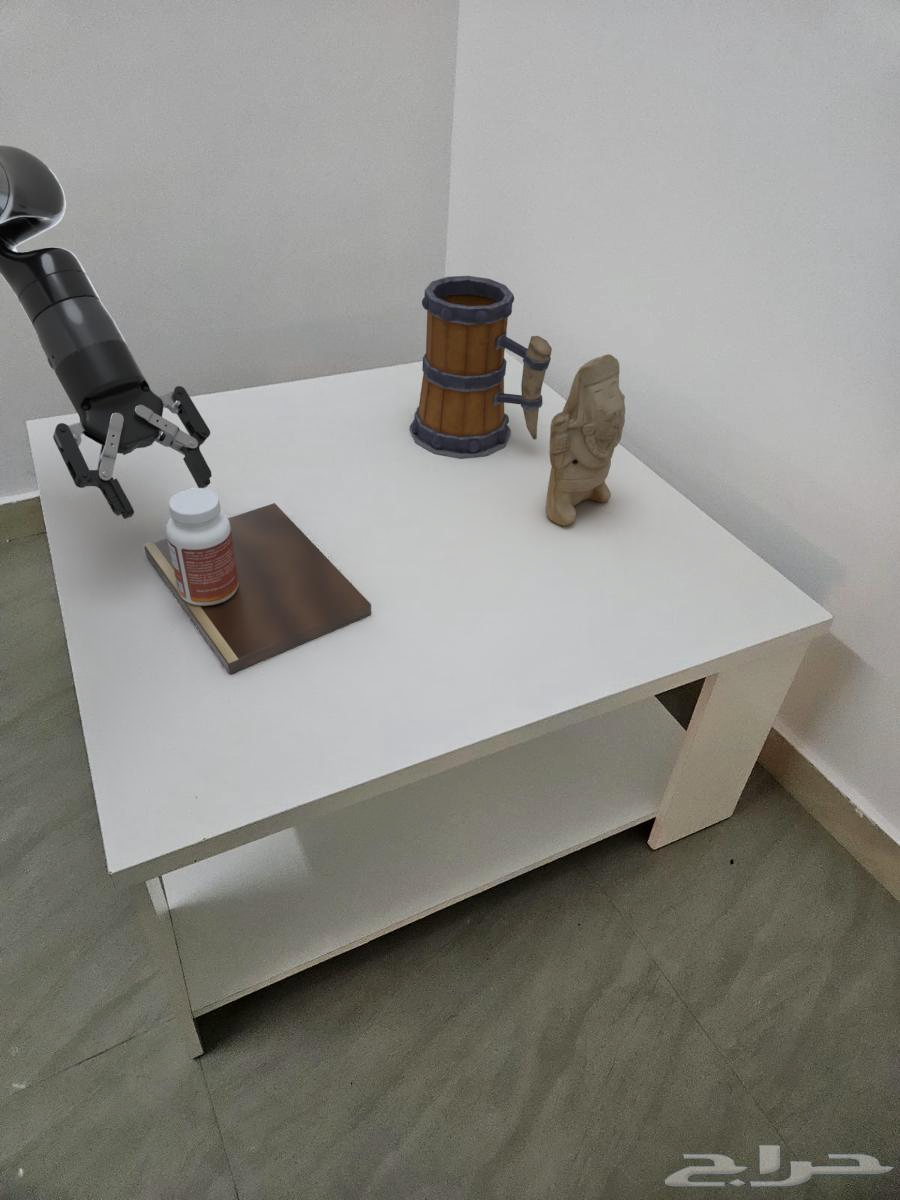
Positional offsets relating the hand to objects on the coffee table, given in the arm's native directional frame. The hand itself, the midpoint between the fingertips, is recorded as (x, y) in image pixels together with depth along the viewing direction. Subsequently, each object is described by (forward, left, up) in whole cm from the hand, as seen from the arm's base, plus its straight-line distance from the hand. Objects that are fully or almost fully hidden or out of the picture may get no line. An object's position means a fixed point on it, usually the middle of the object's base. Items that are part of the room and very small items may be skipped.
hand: (168, 500), depth 84 cm
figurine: (+46, -14, -10) cm, 49 cm away
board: (+6, -6, -9) cm, 13 cm away
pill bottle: (+1, -6, -8) cm, 10 cm away
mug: (+46, +7, -10) cm, 47 cm away
